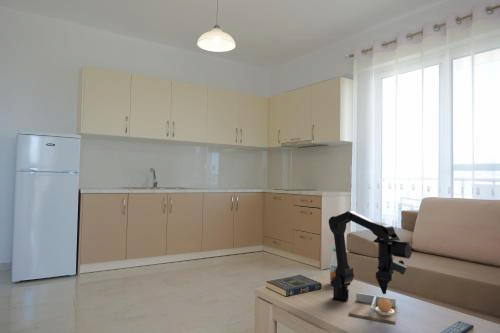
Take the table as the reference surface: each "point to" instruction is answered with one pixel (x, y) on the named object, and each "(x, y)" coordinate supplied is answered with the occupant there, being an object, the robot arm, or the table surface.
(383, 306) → the ball
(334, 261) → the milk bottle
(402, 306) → the table surface
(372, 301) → the board
